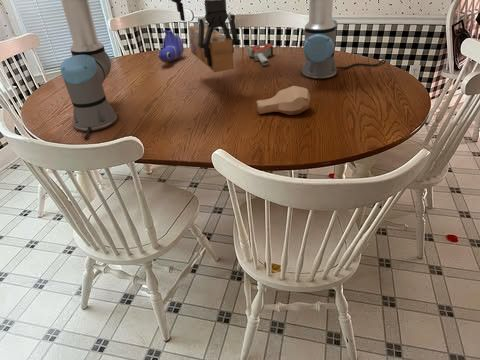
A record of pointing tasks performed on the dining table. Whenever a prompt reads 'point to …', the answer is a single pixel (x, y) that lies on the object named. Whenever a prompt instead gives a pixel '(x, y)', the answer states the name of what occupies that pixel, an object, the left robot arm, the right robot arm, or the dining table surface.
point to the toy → (171, 47)
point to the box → (213, 49)
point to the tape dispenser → (261, 53)
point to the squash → (286, 101)
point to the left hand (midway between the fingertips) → (219, 63)
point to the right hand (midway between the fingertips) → (197, 17)
